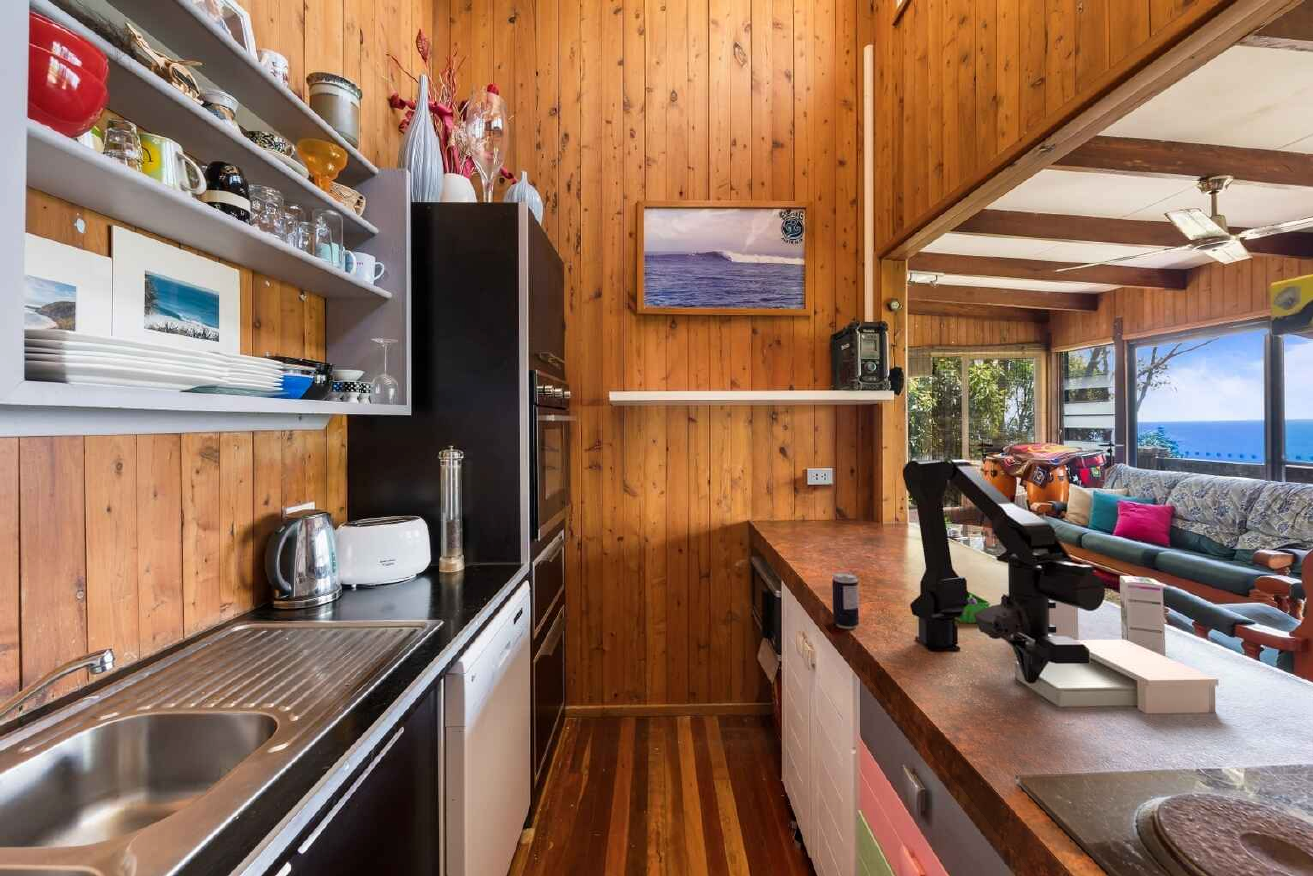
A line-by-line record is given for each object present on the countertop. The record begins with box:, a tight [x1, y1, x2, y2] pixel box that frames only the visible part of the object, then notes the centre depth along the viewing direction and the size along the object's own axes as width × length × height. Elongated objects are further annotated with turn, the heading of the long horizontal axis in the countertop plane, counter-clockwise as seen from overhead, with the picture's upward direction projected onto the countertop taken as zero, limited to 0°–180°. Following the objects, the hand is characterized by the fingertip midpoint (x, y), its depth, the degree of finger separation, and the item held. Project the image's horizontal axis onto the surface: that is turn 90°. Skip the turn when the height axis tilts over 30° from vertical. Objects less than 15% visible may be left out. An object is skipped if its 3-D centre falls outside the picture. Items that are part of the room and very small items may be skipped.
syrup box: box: [1119, 575, 1167, 657], centre depth 104 cm, size 6×6×14 cm
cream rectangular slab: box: [1014, 660, 1138, 708], centre depth 88 cm, size 16×10×3 cm, turn 90°
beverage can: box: [831, 571, 860, 630], centre depth 120 cm, size 6×6×12 cm
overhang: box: [1076, 638, 1219, 714], centre depth 88 cm, size 11×16×6 cm
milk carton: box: [1033, 553, 1079, 640], centre depth 108 cm, size 7×7×19 cm
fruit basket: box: [956, 591, 991, 624], centre depth 125 cm, size 11×9×11 cm
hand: (1029, 682), depth 88 cm, fingers closed, pressing on cream rectangular slab
